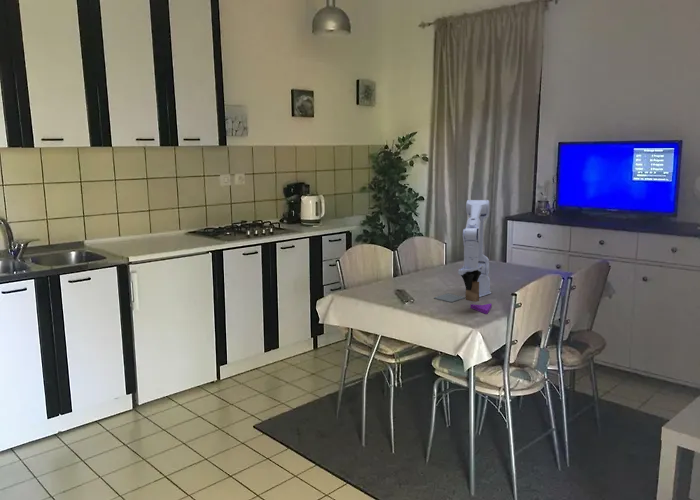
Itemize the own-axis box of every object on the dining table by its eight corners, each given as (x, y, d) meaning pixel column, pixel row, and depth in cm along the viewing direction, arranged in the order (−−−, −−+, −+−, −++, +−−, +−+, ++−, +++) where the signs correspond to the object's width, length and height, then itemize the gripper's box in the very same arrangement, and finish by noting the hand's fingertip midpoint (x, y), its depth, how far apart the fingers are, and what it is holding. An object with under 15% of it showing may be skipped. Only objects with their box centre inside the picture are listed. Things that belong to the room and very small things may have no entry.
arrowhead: (478, 301, 252) (499, 305, 246) (478, 304, 253) (499, 308, 246) (465, 306, 245) (487, 310, 238) (465, 309, 246) (486, 314, 239)
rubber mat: (447, 294, 271) (447, 293, 271) (465, 298, 263) (465, 297, 263) (433, 298, 264) (433, 297, 264) (451, 302, 257) (451, 301, 257)
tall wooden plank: (469, 298, 245) (469, 280, 244) (479, 300, 241) (479, 281, 240) (465, 299, 243) (465, 281, 242) (475, 302, 240) (475, 282, 238)
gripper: (473, 252, 247) (473, 284, 250) (452, 258, 238) (451, 290, 240) (487, 255, 242) (487, 286, 245) (466, 260, 233) (466, 293, 235)
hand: (470, 289), depth 242 cm, fingers closed on tall wooden plank, 2 cm apart
